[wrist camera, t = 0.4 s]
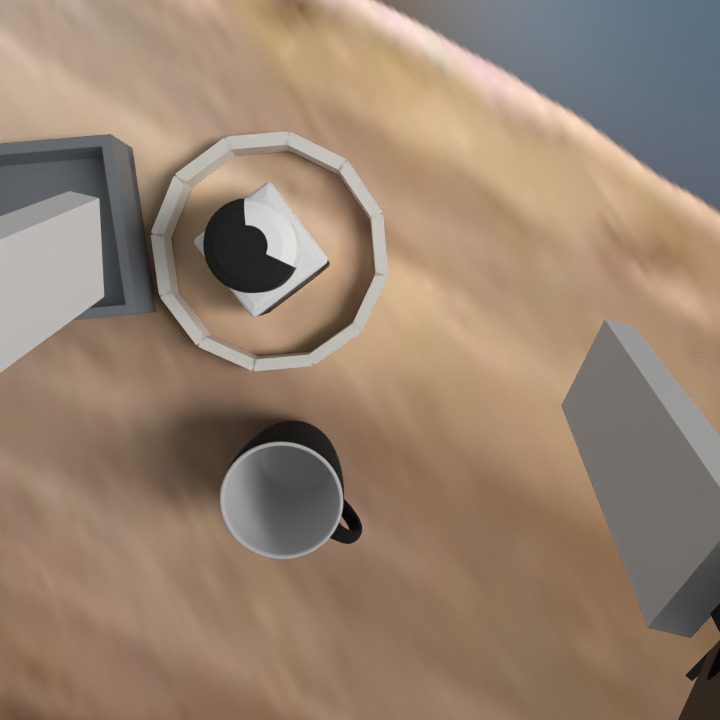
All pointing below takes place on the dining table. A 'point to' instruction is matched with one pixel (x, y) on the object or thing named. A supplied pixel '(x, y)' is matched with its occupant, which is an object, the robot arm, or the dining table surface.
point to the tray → (116, 198)
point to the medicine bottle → (260, 250)
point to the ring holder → (173, 211)
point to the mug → (287, 493)
